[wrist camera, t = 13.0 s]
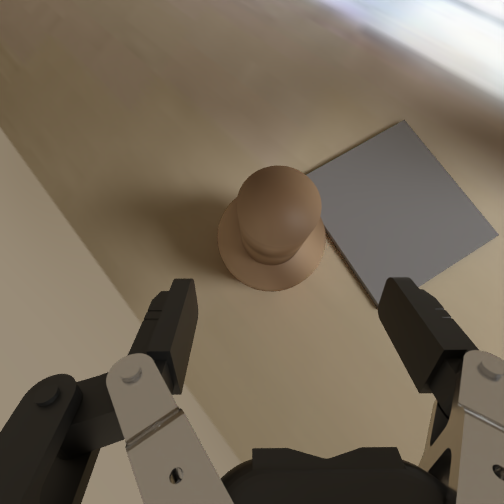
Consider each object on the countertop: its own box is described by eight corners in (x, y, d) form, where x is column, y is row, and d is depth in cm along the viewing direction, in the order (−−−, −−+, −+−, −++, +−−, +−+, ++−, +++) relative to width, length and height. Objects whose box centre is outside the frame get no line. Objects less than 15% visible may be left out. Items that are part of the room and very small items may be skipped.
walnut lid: (286, 174, 25) (301, 113, 17) (342, 256, 24) (386, 229, 16) (200, 222, 24) (176, 179, 17) (252, 311, 23) (252, 311, 15)
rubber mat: (401, 123, 32) (404, 119, 32) (493, 236, 29) (498, 234, 29) (293, 184, 30) (294, 181, 30) (379, 310, 28) (382, 310, 27)
